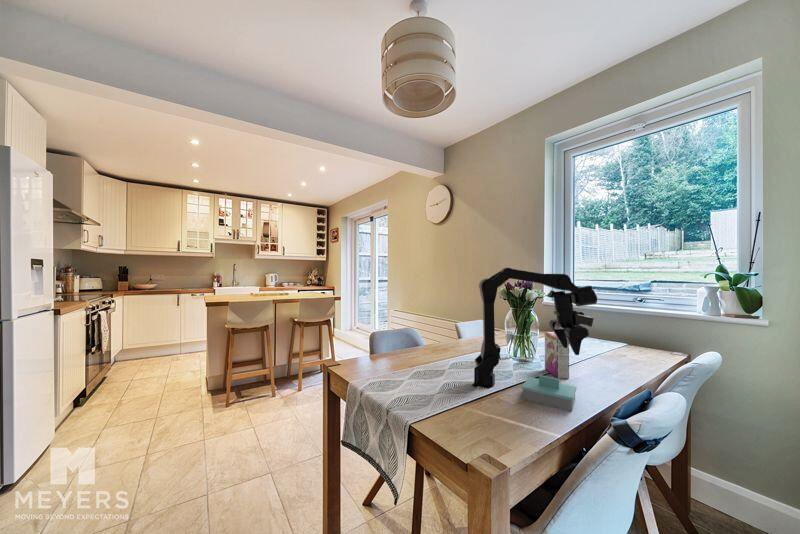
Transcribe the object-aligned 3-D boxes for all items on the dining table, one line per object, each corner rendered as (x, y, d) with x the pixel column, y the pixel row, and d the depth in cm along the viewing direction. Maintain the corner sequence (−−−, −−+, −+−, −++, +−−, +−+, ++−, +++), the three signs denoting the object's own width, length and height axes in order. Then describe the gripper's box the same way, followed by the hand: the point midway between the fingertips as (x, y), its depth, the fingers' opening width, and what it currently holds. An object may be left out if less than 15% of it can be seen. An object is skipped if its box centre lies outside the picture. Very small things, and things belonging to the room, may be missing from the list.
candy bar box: (543, 369, 129) (544, 331, 129) (555, 369, 129) (555, 331, 129) (556, 378, 118) (557, 337, 118) (569, 379, 117) (569, 337, 117)
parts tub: (522, 400, 98) (522, 388, 98) (529, 390, 106) (529, 379, 106) (571, 413, 89) (571, 400, 89) (575, 401, 97) (575, 389, 98)
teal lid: (521, 391, 97) (521, 377, 97) (529, 381, 106) (529, 368, 106) (572, 403, 89) (572, 388, 89) (576, 391, 98) (576, 377, 98)
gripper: (602, 308, 96) (610, 356, 96) (575, 302, 115) (582, 342, 115) (566, 313, 98) (573, 360, 97) (545, 306, 116) (552, 345, 116)
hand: (571, 351), depth 106 cm, fingers open, 9 cm apart
